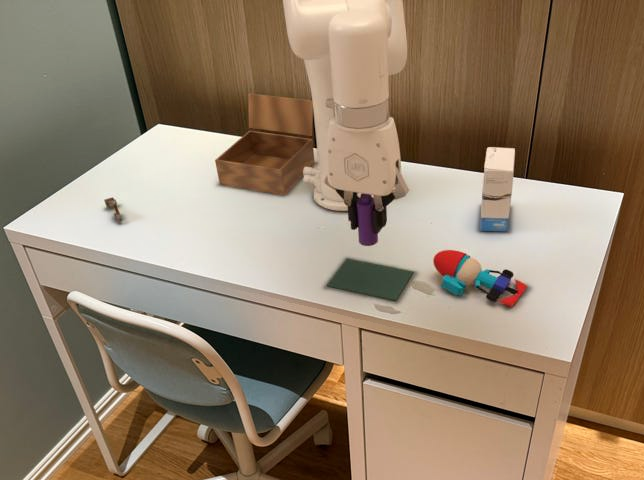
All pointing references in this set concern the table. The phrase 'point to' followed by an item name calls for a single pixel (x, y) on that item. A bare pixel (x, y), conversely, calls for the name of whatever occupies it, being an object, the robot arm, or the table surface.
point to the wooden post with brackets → (112, 203)
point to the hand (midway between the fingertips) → (367, 226)
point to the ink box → (497, 189)
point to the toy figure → (474, 277)
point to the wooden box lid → (280, 114)
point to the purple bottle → (366, 220)
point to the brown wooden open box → (265, 162)
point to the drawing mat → (370, 279)
